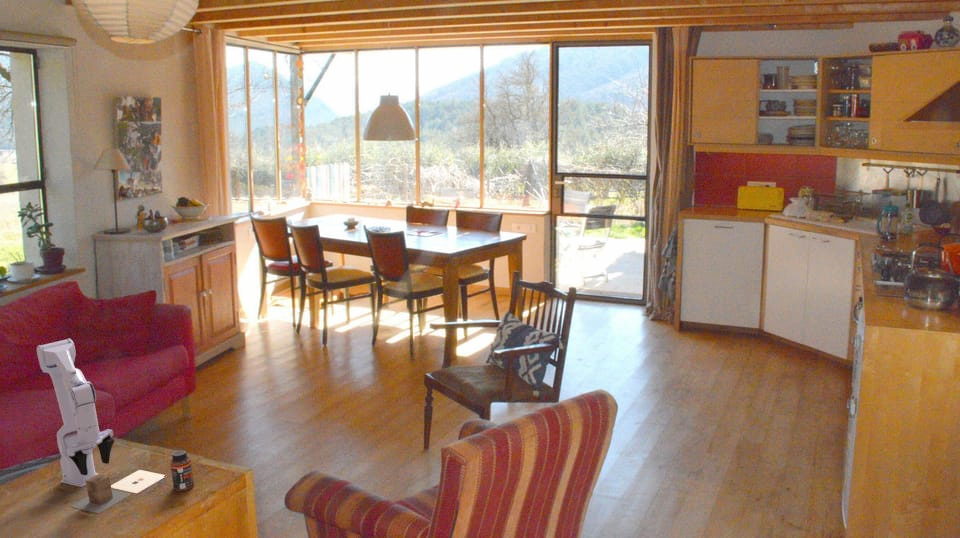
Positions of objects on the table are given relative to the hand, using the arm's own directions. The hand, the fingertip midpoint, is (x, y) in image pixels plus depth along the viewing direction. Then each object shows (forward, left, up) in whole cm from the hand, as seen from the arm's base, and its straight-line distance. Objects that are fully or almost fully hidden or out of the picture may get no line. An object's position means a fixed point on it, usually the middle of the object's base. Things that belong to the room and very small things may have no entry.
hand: (95, 468), depth 257 cm
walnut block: (0, 0, -10) cm, 10 cm away
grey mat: (0, 0, -10) cm, 10 cm away
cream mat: (+1, +13, -10) cm, 17 cm away
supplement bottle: (+18, +15, -11) cm, 26 cm away
